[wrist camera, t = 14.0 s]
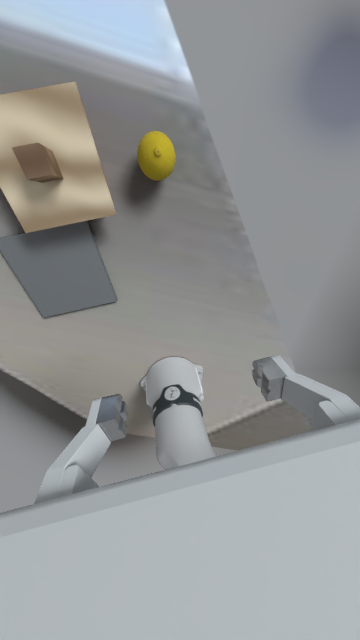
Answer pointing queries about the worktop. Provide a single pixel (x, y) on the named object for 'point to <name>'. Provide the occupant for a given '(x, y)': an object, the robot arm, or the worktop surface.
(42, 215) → the lid
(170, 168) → the lemon
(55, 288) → the mat
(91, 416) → the robot arm
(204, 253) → the worktop surface
